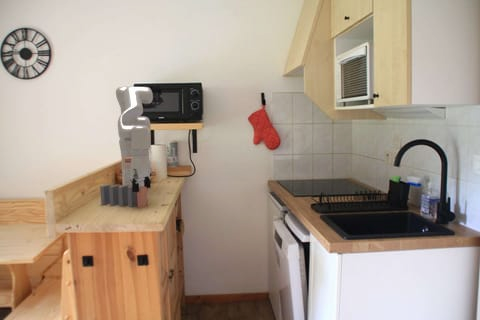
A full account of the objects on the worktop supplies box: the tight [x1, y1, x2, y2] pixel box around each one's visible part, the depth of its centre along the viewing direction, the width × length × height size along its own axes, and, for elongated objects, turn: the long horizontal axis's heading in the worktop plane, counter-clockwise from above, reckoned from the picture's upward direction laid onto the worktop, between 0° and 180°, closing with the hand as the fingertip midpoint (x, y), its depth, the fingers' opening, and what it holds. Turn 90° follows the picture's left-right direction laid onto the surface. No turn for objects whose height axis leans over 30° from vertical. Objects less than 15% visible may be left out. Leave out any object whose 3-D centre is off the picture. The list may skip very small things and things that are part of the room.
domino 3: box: [118, 185, 128, 207], centre depth 172 cm, size 2×5×9 cm, turn 163°
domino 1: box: [99, 184, 111, 206], centre depth 175 cm, size 2×5×9 cm, turn 163°
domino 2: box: [109, 184, 120, 207], centre depth 173 cm, size 2×5×9 cm, turn 163°
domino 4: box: [127, 187, 138, 208], centre depth 170 cm, size 2×5×9 cm, turn 163°
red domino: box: [137, 186, 148, 209], centre depth 169 cm, size 2×5×9 cm, turn 163°
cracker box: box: [123, 157, 145, 188], centre depth 195 cm, size 14×6×21 cm, turn 168°
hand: (141, 189), depth 169 cm, fingers open, 9 cm apart
